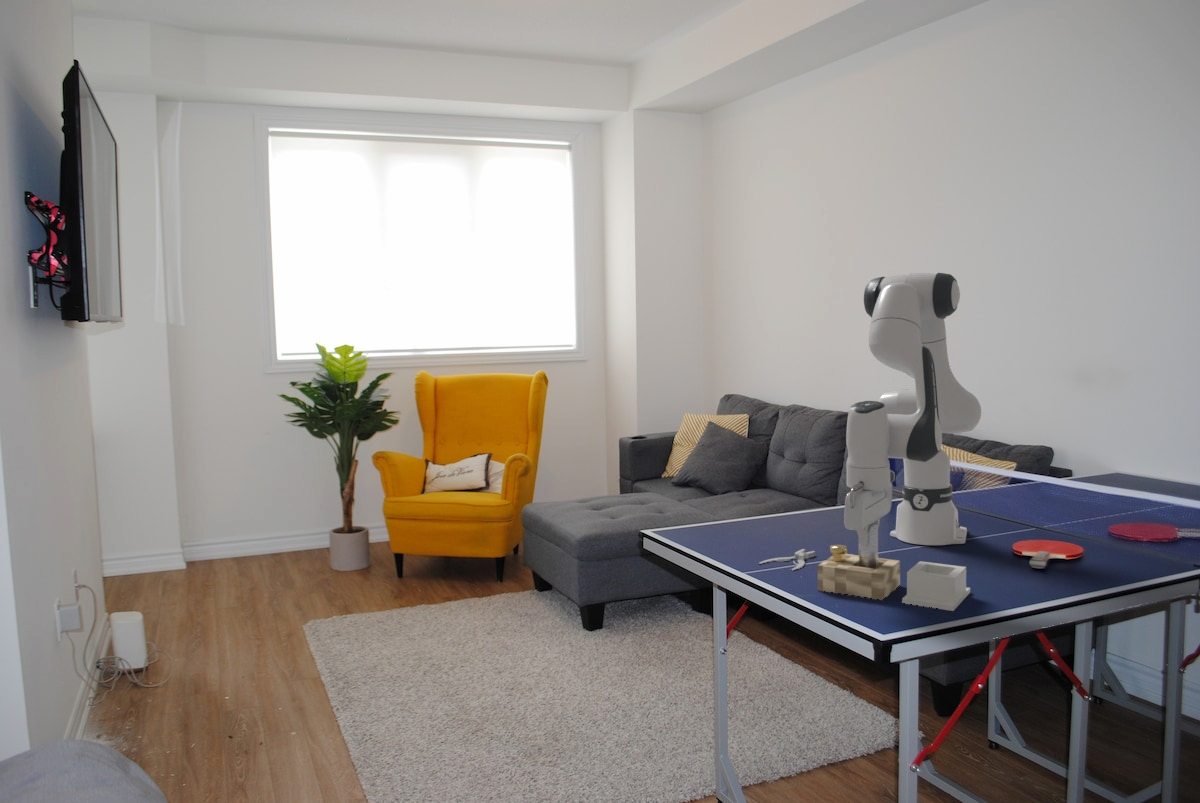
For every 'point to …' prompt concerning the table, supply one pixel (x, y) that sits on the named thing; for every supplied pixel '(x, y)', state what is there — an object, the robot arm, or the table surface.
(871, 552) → the grey rounded cylinder
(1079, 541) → the table surface
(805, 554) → the pliers
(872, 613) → the table surface
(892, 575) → the socket block
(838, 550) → the key
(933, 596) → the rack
